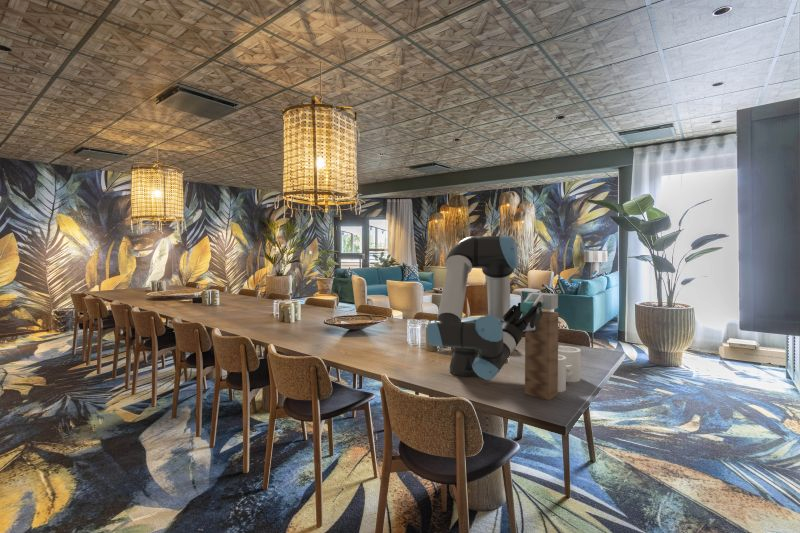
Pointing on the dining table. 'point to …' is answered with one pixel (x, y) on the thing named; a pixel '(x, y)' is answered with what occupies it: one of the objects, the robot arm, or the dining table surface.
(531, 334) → the tall wooden pillar
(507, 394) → the dining table surface
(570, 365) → the white double cylinder
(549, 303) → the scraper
